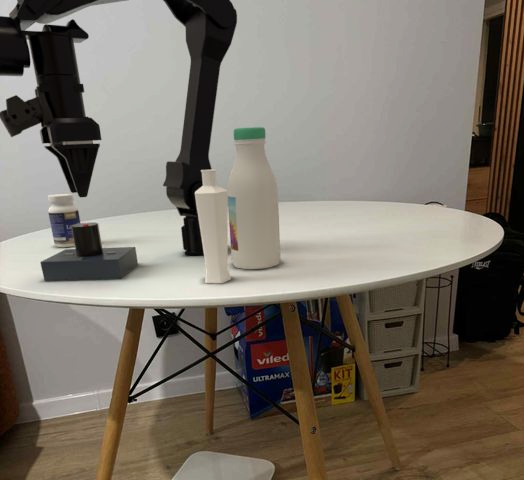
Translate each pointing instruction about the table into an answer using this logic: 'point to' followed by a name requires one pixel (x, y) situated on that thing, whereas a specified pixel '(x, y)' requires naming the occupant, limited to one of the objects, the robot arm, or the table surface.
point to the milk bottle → (253, 203)
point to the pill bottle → (63, 219)
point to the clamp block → (89, 265)
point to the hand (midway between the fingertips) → (78, 194)
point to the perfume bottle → (213, 227)
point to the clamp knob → (87, 239)
